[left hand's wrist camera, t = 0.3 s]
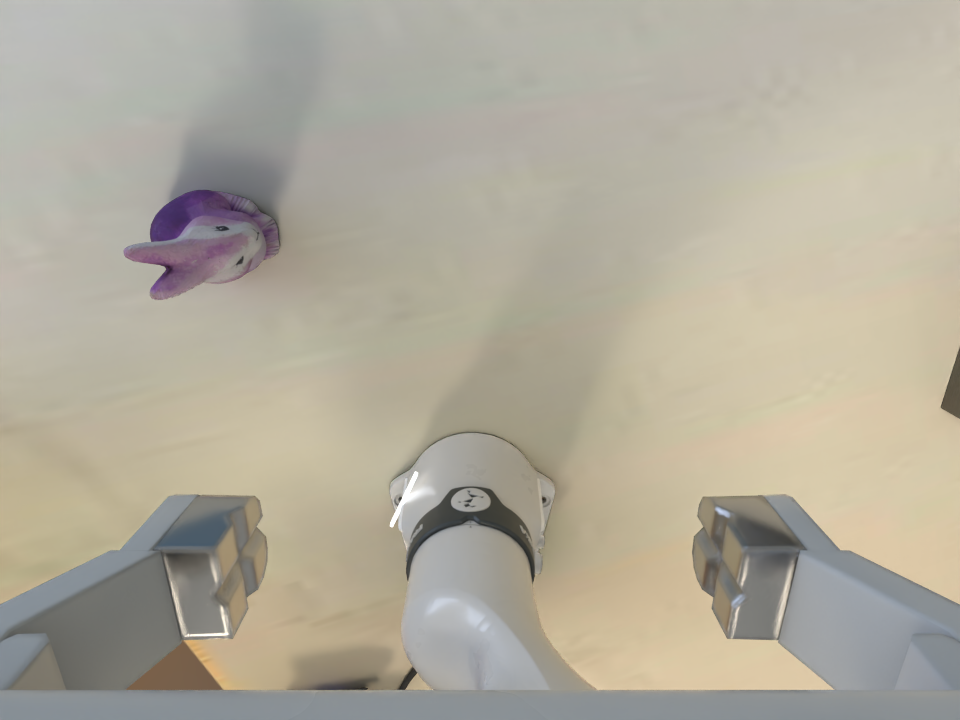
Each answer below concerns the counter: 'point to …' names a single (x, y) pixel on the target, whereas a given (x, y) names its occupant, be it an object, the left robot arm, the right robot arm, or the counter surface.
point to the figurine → (205, 241)
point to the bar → (953, 391)
